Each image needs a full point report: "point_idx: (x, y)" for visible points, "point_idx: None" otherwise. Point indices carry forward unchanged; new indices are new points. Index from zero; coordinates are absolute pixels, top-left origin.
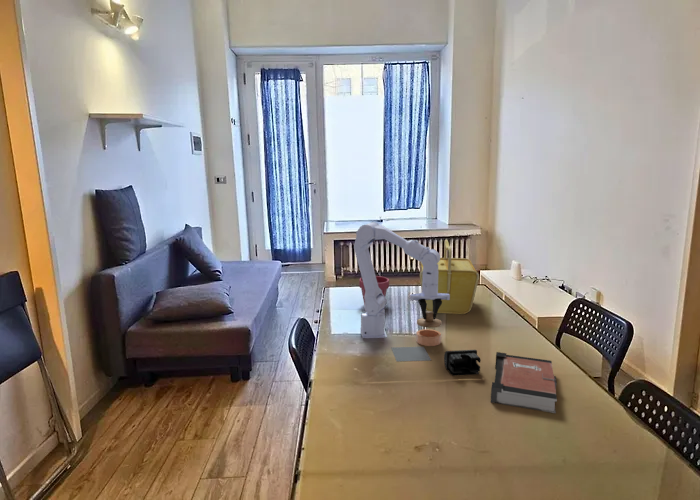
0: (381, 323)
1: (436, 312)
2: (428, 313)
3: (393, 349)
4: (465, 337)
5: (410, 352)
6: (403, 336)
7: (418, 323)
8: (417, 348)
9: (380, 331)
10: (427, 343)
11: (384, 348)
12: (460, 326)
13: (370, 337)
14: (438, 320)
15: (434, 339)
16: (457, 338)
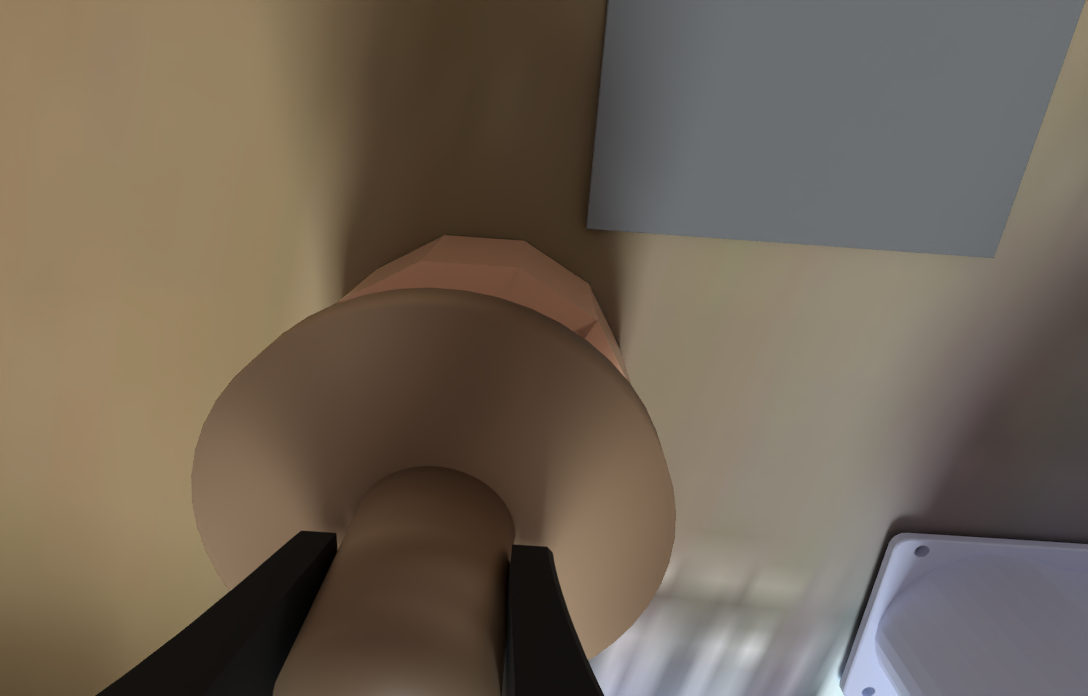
0: (1066, 694)
1: (185, 644)
2: (438, 638)
3: (997, 189)
4: (33, 445)
5: (829, 50)
6: (698, 550)
7: (668, 481)
8: (685, 179)
9: (1001, 601)
10: (531, 253)
11: (1056, 270)
12: (62, 693)
13: (1075, 547)
14: (244, 547)
15: (430, 255)
16: (127, 431)
